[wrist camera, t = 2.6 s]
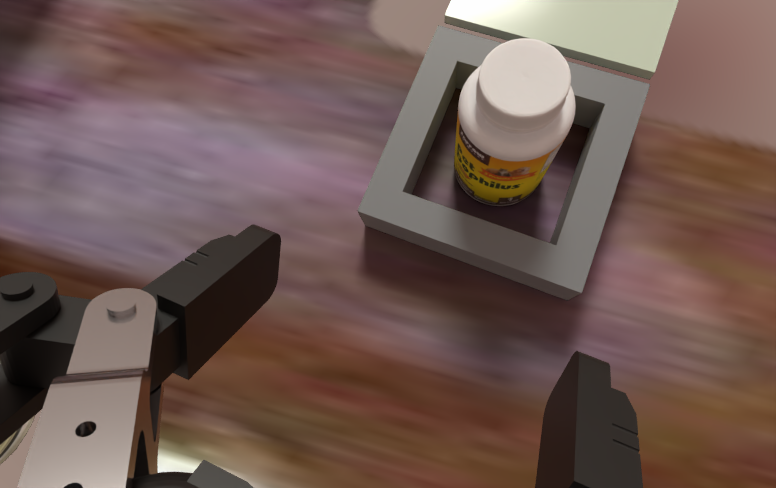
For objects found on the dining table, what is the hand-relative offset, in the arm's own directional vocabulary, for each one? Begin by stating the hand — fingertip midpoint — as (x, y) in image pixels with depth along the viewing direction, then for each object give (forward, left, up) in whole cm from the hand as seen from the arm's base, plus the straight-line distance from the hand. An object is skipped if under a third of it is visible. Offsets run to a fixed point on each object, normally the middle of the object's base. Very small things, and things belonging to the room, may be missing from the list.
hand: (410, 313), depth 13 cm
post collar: (0, +12, -17) cm, 20 cm away
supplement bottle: (0, +12, -17) cm, 21 cm away
